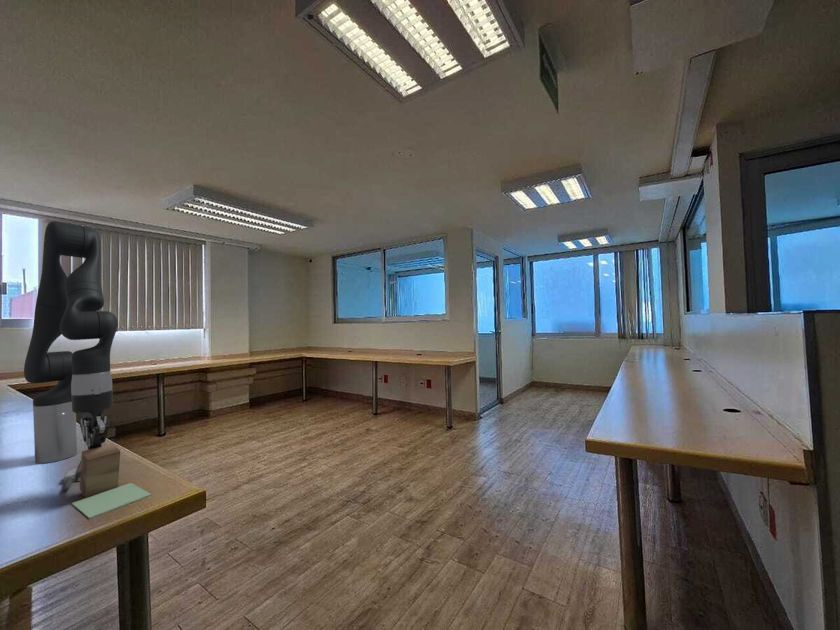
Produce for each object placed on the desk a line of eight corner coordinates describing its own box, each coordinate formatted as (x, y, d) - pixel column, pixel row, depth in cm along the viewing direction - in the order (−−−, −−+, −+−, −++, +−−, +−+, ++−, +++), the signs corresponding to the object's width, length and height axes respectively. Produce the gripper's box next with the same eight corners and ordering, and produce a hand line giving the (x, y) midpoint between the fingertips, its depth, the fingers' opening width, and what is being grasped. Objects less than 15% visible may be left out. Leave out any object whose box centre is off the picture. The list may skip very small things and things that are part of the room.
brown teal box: (79, 488, 85) (81, 451, 84) (110, 478, 90) (113, 443, 89) (85, 498, 83) (87, 460, 81) (117, 487, 88) (120, 451, 86)
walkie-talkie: (70, 471, 100) (59, 497, 85) (70, 455, 100) (59, 479, 85) (111, 462, 106) (108, 484, 90) (110, 447, 106) (107, 467, 90)
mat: (72, 504, 80) (72, 503, 80) (131, 483, 90) (131, 482, 90) (89, 518, 74) (89, 517, 74) (151, 495, 83) (151, 494, 83)
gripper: (63, 391, 88) (66, 460, 88) (80, 396, 81) (83, 471, 81) (102, 386, 94) (105, 450, 94) (121, 389, 87) (124, 459, 87)
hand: (95, 459), depth 88 cm, fingers closed
